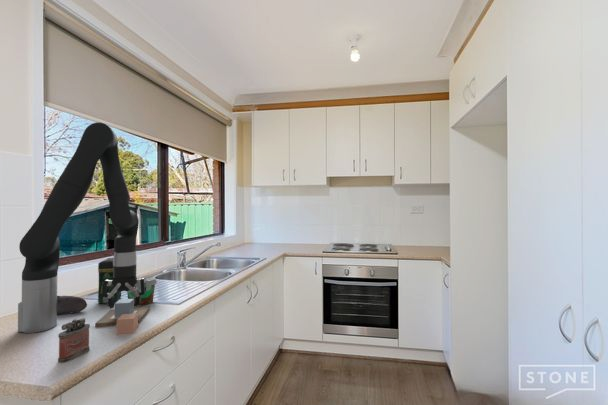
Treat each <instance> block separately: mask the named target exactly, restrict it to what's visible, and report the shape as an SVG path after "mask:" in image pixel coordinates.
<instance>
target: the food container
mask: <svg viewBox="0 0 608 405" xmlns="http://www.w3.org/2000/svg"><path fill="white" fill-rule="evenodd" d="M157 283H158V282H157V280H156V278H154V279H151V280H146V293H145V294H144V295H141V303H140V304H139V306H138V307H143V306H147V305H150V304H152V303H153V302H154V296H155V289H156V287H155V286H156V285H157ZM135 285H136V287H137V288H138V290H139V291H140V292H141V285H140V284H139V283H138V282H137V283H136V284H135ZM126 292H127V293H126V294H127V299H134V307H135V297H136V296H135V294H134V293H132V292H131V291H130V290H129V291H126Z"/></svg>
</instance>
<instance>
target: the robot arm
mask: <svg viewBox="0 0 608 405" xmlns="http://www.w3.org/2000/svg"><path fill="white" fill-rule="evenodd" d="M119 155H120V154H119V147H118V136H117V134H116V133H115V131H114V130H113V129H112V127H110V125H107V124H106V123H103V122H94V123H91V124H89V125H87V127H86V128H85V129H84V131H83V134H82V136H81V138H80V141H79V143H78V145H77V147H76V150H75V152H74V154H73V156H72V157H71V159H70V160H69V161H68V163H67V165H66V166H65V168H64V170H63V171H62V173H61V174H60V176H59V178H58V179H57V181H56V182H55V184H54V186H53V187H52V189H51V192H50V193H49V195H48V197H47V199H46V201H45V203H44V205H43V207H42V209H41V212H40V213H39V215H38V216H37V218H36V219H35V221H34V223H33V224H31V227H30V228H29V229H28V230H27V231H26V233H25V235H24V236H23V237H22V238H21V240H20V242H19V246H18V248H19V249H18V250H19V252H20V255H22V256H23V257H24V258H25V263H24V267H23V269H22V272H21V301H20V302H19V303H18V304H17V333H24V334H33V333H39V332H44V331H47V330H50V329H53V328H54V327H56V326H57V325H58V314H57V296H58V270H59V268H60V267H59V266H60V249H61V248H60V247H61V246H60V245H61V243H60V239H59V234H60V233H61V230H62V229H63V227H64V226H65V224H66V222H67V221H68V219H69V218H70V217H71V216H72V215H73V214H74V212H75V211H76V210H77V209H78V208H79V207H80V205H81V204H82V202H83V200H84V198H85V197H86V196H87V194H88V191H89V190H90V189H91V185H92V183H93V179H94V175H95V170H96V166H97V164H98V162H100V165H101V170H102V180H103V184H104V186H103V187H104V189H105V194H106V197H107V199H108V203H109V204H108V205H109V207H108V208H109V218H110V221H111V223H112V226H113V228H115V229H117V230H118V233H117V236H116V237H115V238H114V243H113V244H114V247H113V250H114V251H113V257H112V258H113V280H109V279H107V280H105V281H103V289H102V297H107V298H108V304H107V306H108V307H109V309H113V308H115V302H114V297H113V295H114V294H115V293H116V292H117V291H119V292H121V293H122V292H127V291H129V290H130V291H131V292H132V293H134V294H135V296H136V297H135V306H134V308H139V307H140V306H139V304H140V303H141V295H144V294H145V293H146V281H147V279H146V277H142V278H138V277H137V236H138V230H139V226H140V224H139V222H140V221H139V216H138V214H137V213H136V212H135V211H133V210H130V205H129V202H131V196H130V192H129V188H128V185H127V182H126V180H125V176H124V172H123V170H122V165H121V162H120V156H119ZM137 282H138V283H139V284H140V285H141V292H140V291H139V290H138V288H137V287H136V285H135V284H136V283H137ZM111 283H112V284H113V286H114V287H115V288H114V289H113V290H112V291H111V293H108V290H109V286H110V285H111Z"/></svg>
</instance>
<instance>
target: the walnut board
mask: <svg viewBox="0 0 608 405" xmlns="http://www.w3.org/2000/svg"><path fill="white" fill-rule="evenodd" d="M150 308H151V307H150V306H147V307H146V306H145V307H134V312H133V313H132V314H136V313H138V325H139V324H140V323H141V322H142V321H143V320H144V318H145V317H146V316H147V314H148V313H149V312H150V310H151V309H150ZM114 309H115V308H114ZM114 309H113V308H111V309H109V311H107V313H105V314H104V315H103V316H102V317H100V318H99V319H98V320H97V321H96V322H95V323H94V327H95V328H98V327H99V328H100V327H111V326H117V319H118V318H119V317H114ZM142 319H143V320H142Z"/></svg>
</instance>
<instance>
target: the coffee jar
mask: <svg viewBox="0 0 608 405" xmlns="http://www.w3.org/2000/svg"><path fill="white" fill-rule="evenodd" d="M97 264H98V291H97V292H98V293H97V302H98V304H104V305H108V298H107V297H102V289H103V281H105V280H107V279H109V280H113V257H107V258H106V259H104V260H102V261H100V262H98V263H97ZM114 288H115V287H114V286H113V284H112V283H111V285H110V286H109V290H108V293H111V291H112V290H113V289H114ZM113 297H114V303H116V302H117V301H118V300H119V299H121V297H122V291H121V292H119V291H117V292H116V293H115V294H114V295H113Z"/></svg>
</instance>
